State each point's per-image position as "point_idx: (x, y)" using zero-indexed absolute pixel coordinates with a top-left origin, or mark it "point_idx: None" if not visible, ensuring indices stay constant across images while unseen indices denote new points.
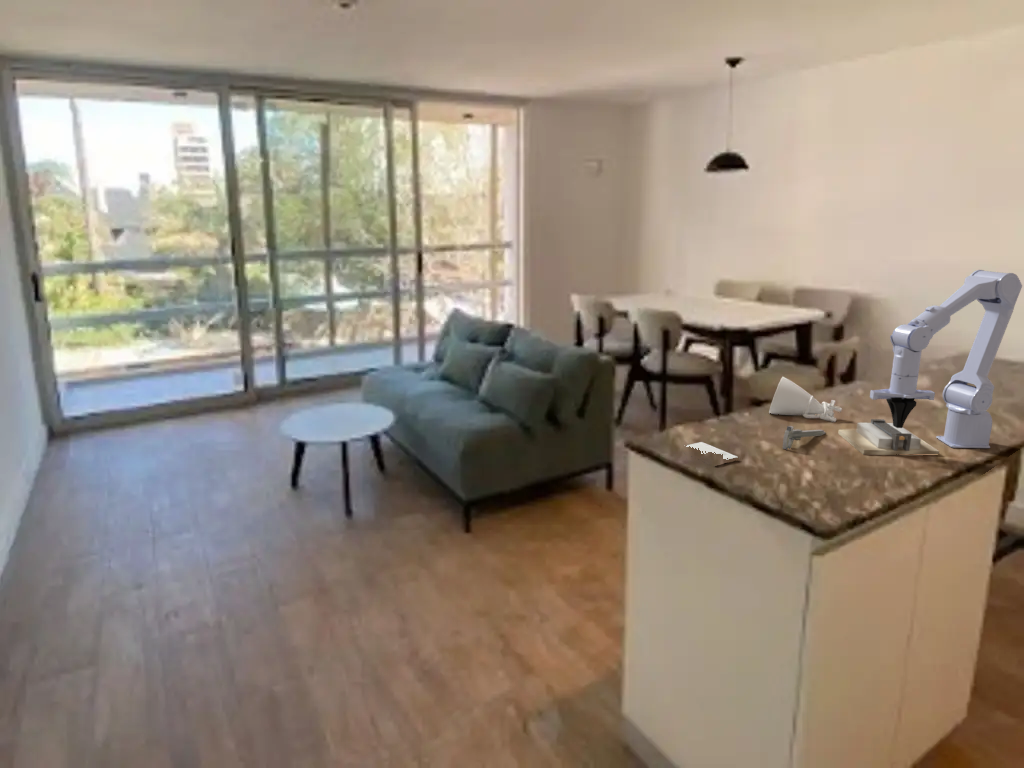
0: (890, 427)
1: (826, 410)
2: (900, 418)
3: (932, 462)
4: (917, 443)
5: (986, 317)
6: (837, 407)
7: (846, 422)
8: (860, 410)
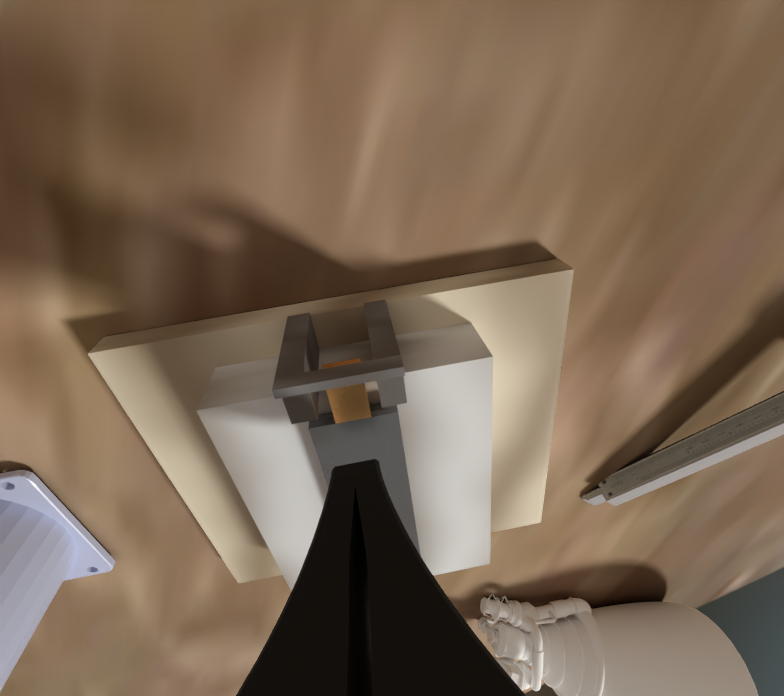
0: None
1: (538, 641)
2: (372, 532)
3: (147, 194)
4: (223, 387)
5: None
6: None
7: None
8: None
